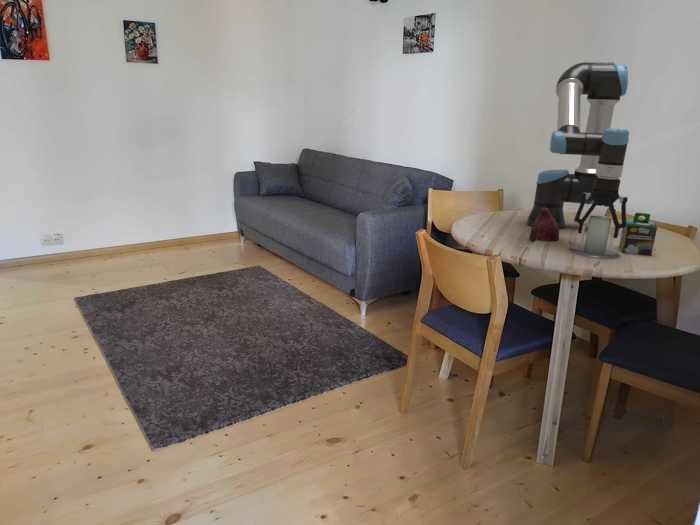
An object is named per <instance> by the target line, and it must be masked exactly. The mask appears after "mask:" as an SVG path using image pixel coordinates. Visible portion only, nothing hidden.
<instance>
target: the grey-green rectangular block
mask: <svg viewBox="0 0 700 525" xmlns="http://www.w3.org/2000/svg"><path fill="white" fill-rule="evenodd" d="M588 218H589V219H588V224H587V231H586V236H585V242H584V246H585V247H584V252H585V253H588V254H593V255H604V254H605V251H606V249H607V245H608V241H609V234H610V229H611V224H612V221H613V218H612V217H608V216H603V215H589V217H588Z"/></svg>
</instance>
